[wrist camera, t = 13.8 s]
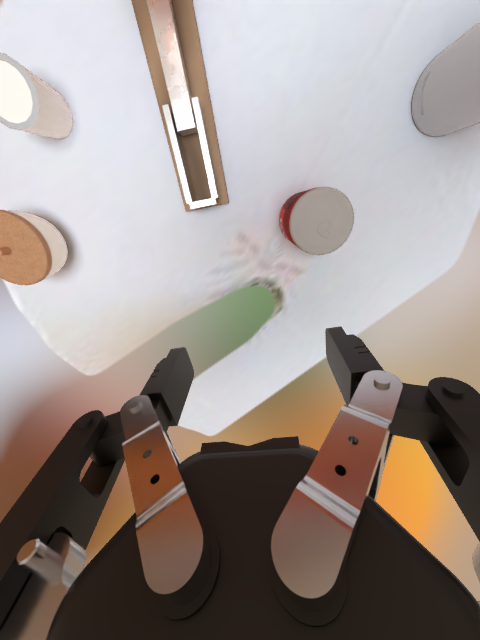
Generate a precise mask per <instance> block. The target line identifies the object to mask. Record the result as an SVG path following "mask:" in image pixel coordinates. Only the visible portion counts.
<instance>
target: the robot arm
mask: <svg viewBox="0 0 480 640" xmlns="http://www.w3.org/2000/svg"><path fill="white" fill-rule="evenodd" d="M412 115H413V120H414V122H415V125H416V126H417V127H418V129H419V130H420V131H421V132H423V133H424V134H426V135H429V136H442V135H446V134H449V133H452V132H455V131H457V130H460V129H463V128H466V127H469V126H472V125H474V124H477V123H480V22H479V23H478V24H477V25H476V26H474V27H473V28H472V29H470V30H469V31H468V32H467V33H465V34H464V35H463V36H461V37H460V38H459V39H458V40H456V41H455V42H454V43H453V44H451V45H450V46H449V47H448V48H446V49H445V50H444V51H443V52H441V53H440V54H439V55H437V56H436V57H435V58H434V59H433V60H432V61H431V62H430V63H429V64H428V66H427V67H426V69H425V70H424V71H423V73H422V75H421V76H420V78H419V80H418V82H417V85H416V88H415V90H414V94H413V99H412ZM326 355H327V360H328V363H329V365H330V368H331V370H332V372H333V375H334V377H335V379H336V382H337V384H338V386H339V389H340V391H341V393H342V395H343V398H344V400H345V402H346V405H347V406H346V405H344V406H343V407H342V408H341V410H340V412H339V414H338V416H337V418H336V420H335V421H334V423H333V425H332V427H331V429H330V431H329V433H328V435H327V437H326V439H325V441H324V443H323V444H322V446H321V448H320V450H319V451H317V450H315V449H313V448H310V447H307V446H304V445H299V439H298V437H284V438H272V439H269V440H266V441H263V442H260V443H258V444H254V445H251V446H244V445H239V444H234V443H229V442H212V443H202V447H201V452H198V453H196V454H194V455H192V456H190V457H188V458H187V459H186V460H184V461H183V462H182V463H181V462H180V460H179V457H178V455H177V453H176V450H175V448H174V446H173V444H172V441H171V439H170V437H169V435H168V433H167V430H168V427H169V426H177V425H178V422H179V419H180V416H181V413H182V410H183V407H184V404H185V401H186V398H187V395H188V392H189V389H190V386H191V383H192V380H193V377H194V370H193V367H192V364H191V361H190V358H189V356H188V353H187V350H186V349H185V348H184V347H183V348H175V349H171V350H170V352H169V354H168V356H167V357H166V358H164V359H163V360H161V361H160V362H159V363H158V364H157V366H156V367H155V369H154V372H153V373H152V374H151V376H150V378H149V380H148V381H147V383H146V385H145V387H144V388H143V390H142V392H141V394H140V395H139V396H136V397H133V398H131V399H130V400H128V401H127V402H126V403H125V404H124V405H123V406H122V408H121V410H120V412H117V413H115V414H111V415H109V416H106V417H105V416H104V415H103V413H102V412H101V411H99V410H95V411H91V412H88V413H86V414H85V415H83V416H81V417H80V418H79V419H78V420H76V422H75V423H74V424H73V425H72V426H71V428H70V429H69V430H68V432H67V433H66V434H65V436H64V438H63V439H62V440H61V441H60V443H59V444H58V445H57V447H56V448H55V450H54V451H53V452H52V454H51V455H50V456H49V458H48V459H47V460H46V462H45V463H44V465H43V466H42V467H41V469H40V470H39V471H38V473H37V474H36V475H35V477H34V478H33V479H32V481H31V482H30V484H29V485H28V486H27V488H26V489H25V490H24V492H23V493H22V494H21V496H20V497H19V499H18V500H17V501H16V503H15V504H14V505H13V507H12V508H11V509H10V511H9V512H8V513H7V515H6V516H5V517H4V519H3V520H2V522H1V523H0V640H480V601H476V599H475V598H474V597H473V595H472V594H471V593H470V592H469V591H468V589H467V588H466V587H465V586H464V585H463V584H462V583H461V582H460V580H459V579H458V578H457V577H456V576H455V575H454V574H453V573H452V572H451V571H450V570H448V569H447V568H446V567H445V566H444V565H443V564H442V563H441V562H440V561H439V560H438V559H437V558H435V557H434V556H433V555H432V554H431V553H430V552H429V551H428V550H427V549H426V548H425V547H424V546H423V545H422V544H421V543H419V542H418V541H417V540H416V539H415V538H414V537H413V536H412V535H411V534H410V533H409V532H408V531H407V530H406V529H405V528H403V527H402V526H401V525H400V524H399V523H398V522H397V521H396V520H395V519H394V518H393V517H392V516H391V515H390V514H388V513H387V512H386V511H385V510H384V509H383V508H382V507H381V506H380V505H379V504H378V503H377V502H376V497H377V494H378V490H379V486H380V482H381V478H382V474H383V470H384V467H385V463H386V460H387V457H388V453H389V450H390V447H391V443H392V440H393V436H394V435H397V436H402V437H407V438H411V439H416V440H420V442H421V444H422V445H423V447H424V449H425V450H426V452H427V454H428V455H429V457H430V459H431V460H432V462H433V464H434V465H435V467H436V469H437V471H438V472H439V474H440V476H441V477H442V479H443V481H444V482H445V484H446V486H447V487H448V489H449V491H450V492H451V494H452V496H453V498H454V499H455V501H456V502H457V504H458V506H459V508H460V509H461V511H462V513H463V514H464V516H465V518H466V519H467V521H468V523H469V524H470V526H471V528H472V529H473V531H474V533H475V534H476V536H477V538H478V539H479V541H480V394H479V393H478V392H477V391H476V390H475V389H474V388H473V387H471V386H470V385H468V384H466V383H464V382H462V381H459V380H456V379H453V378H446V377H439V378H434V379H432V380H431V381H430V382H429V384H428V386H420V385H412V384H406V383H402V382H401V380H400V379H399V378H398V377H397V376H395V375H393V374H391V373H389V372H386V371H384V370H383V369H382V367H381V366H380V365H379V363H378V362H377V360H376V359H375V358H374V356H373V355H372V353H370V351H369V349H368V348H367V347H366V345H365V344H364V343H363V342H362V340H361V339H360V338H358V337H356V336H355V335H346V333H345V332H344V330H343V329H342V327H334V328H327V329H326ZM89 456H90V458H91V459H92V460H93V461H92V462H91V464H90V466H89V468H88V470H87V471H86V473H85V475H84V477H83V479H82V480H81V482H80V480H79V477H80V473H81V470H82V468H83V466H84V465H85V463H86V461H87V460H88V458H89ZM124 460H125V462H126V467H127V472H128V477H129V481H130V486H131V492H132V497H133V502H134V507H135V513H134V514H133V515H132V516H131V518H130V519H129V520H128V521H127V522H126V523H125V524H124V525H123V526H122V528H121V529H120V530H119V531H118V532H117V533H116V534H115V535H114V536H113V537H112V538H111V540H110V541H109V542H108V543H107V544H106V545H105V546H104V547H103V548H102V549H101V550H100V552H99V553H98V554H97V555H96V556H95V557H94V558H93V559H92V560H91V561H90V563H89V564H88V565H87V566H86V567H85V564H86V552H85V550H86V547H87V545H88V543H89V541H90V538H91V536H92V534H93V531H94V529H95V527H96V525H97V522H98V520H99V518H100V516H101V513H102V511H103V509H104V506H105V504H106V502H107V499H108V497H109V495H110V492H111V490H112V488H113V486H114V484H115V481H116V479H117V476H118V474H119V472H120V470H121V468H122V465H123V463H124ZM472 560H473V566H474V570H475V572H476V574H477V577H478V579H479V582H480V542H479V544H478V545H477V547H476V548H475V550H474V552H473V556H472ZM84 567H85V568H84Z"/></svg>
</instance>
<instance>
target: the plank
mask: <svg viewBox="0 0 480 640" xmlns="http://www.w3.org/2000/svg"><path fill="white" fill-rule="evenodd" d="M171 1H172V6H173V11H174V15H175V20H176V25H177V30H178V35H179V40H180V44H181V49H182V54H183V59H184V64H185V69H186V74H187V78H188V83H189V88H190V93H191V98H194V97H198V99H199V101H200V103H201V106H202V109H203V114H204V119H205V125H206V130H207V135H208V140H209V145H210V150H211V155H212V161H213V166H214V171H215V176H216V181H217V186H218V192H219V197H220V198H217V200H218V204H216V205H221V204H225V203H229V201H228V196H227V190H226V185H225V179H224V173H223V168H222V162H221V157H220V151H219V146H218V140H217V135H216V129H215V124H214V118H213V113H212V107H211V101H210V96H209V90H208V85H207V79H206V74H205V68H204V63H203V57H202V52H201V46H200V41H199V35H198V29H197V24H196V18H195V13H194V7H193V2H192V0H171ZM132 4H133V8H134V12H135V16H136V20H137V24H138V28H139V31H140V35H141V39H142V43H143V47H144V51H145V55H146V59H147V63H148V66H149V70H150V74H151V78H152V82H153V86H154V90H155V94H156V98H157V101H158V105H159V109H160V113H161V117H162V121H163V125H164V129H165V133H166V136H167V140H168V144H169V148H170V152H171V156H172V160H173V164H174V168H175V171H176V175H177V179H178V183H179V187H180V191H181V195H182V199H183V203H184V206H185V210H186V211H191V210H196V209H191V208H190V204H187V203H186V199H185V195H184V191H183V187H182V183H181V179H180V175H179V171H178V167H177V163H176V159H175V155H174V151H173V147H172V143H171V139H170V135H169V131H168V127H167V123H166V119H165V115H164V111H163V108H162V106H163V105H166V104H168V105H169V106H170V107H171V109H172V105H171V101H170V97H169V93H168V89H167V84H166V80H165V76H164V72H163V68H162V63H161V59H160V55H159V51H158V47H157V42H156V38H155V34H154V30H153V26H152V21H151V17H150V13H149V9H148V5H147V0H132ZM180 136H181V134H180ZM181 140H182V144H183V148H184V153H185V157H186V161H187V165H188V170H189V174H190V178H191V182H192V187H193V191H194V195H195V199H196V201H201V200H206V199H211V198H212V196H211V191H210V186H209V181H208V176H207V172H206V167H205V162H204V157H203V152H202V147H201V143H200V138H199V133H194V134H190V135H186V136H181ZM216 205H211V206H216ZM211 206H206V207H211ZM206 207H201V208H206ZM201 208H197V209H201Z"/></svg>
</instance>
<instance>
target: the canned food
mask: <svg viewBox="0 0 480 640" xmlns="http://www.w3.org/2000/svg"><path fill="white" fill-rule="evenodd" d="M279 220H280V227H281V230H282V232H283V234H284V235H285V237H286V238H287V239H289V240H290V241H291V242H292V243H293V244H295V245H296V246H297V247H298V248H300V249H301V250H303V251H305V252H307V253H310V254H314V255H324V254H328V253H331V252H333V251H335V250H336V249H338V248H339V247H340V246H342V244H343V243H344V242H345V241H346V240H347V238H348V237H349V235H350V233H351V230H352V227H353V222H354V213H353V208H352V205H351V203H350V201H349V199H348V198H347V197H346V196H345V195H344V194H343V193H342V192H340V191H339V190H337V189H334V188H330V187H318V188H314V189H310V190H307V191H303V192H300V193H297V194H295V195H293V196H291V197H290V198H289V199H288V200H287V201H286V202H285V204H284V205H283V207H282V209H281V212H280V219H279Z"/></svg>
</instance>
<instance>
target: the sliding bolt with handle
mask: <svg viewBox="0 0 480 640" xmlns="http://www.w3.org/2000/svg"><path fill="white" fill-rule="evenodd" d="M147 5H148V9H149V13H150V17H151V21H152V26H153V30H154V34H155V38H156V42H157V47H158V51H159V55H160V59H161V63H162V68H163V72H164V76H165V80H166V84H167V89H168V93H169V97H170V101H171V105H172V110H173V114H174V118H175V122H176V126H177V131H178V132H179V133H180V134H181V136H186V135H190V134H194V133H198V128H197V123H196V118H195V114H194V109H193V104H192V99H191V93H190V88H189V83H188V78H187V74H186V69H185V64H184V59H183V54H182V49H181V44H180V40H179V35H178V30H177V25H176V20H175V15H174V11H173V6H172V1H171V0H147Z"/></svg>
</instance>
